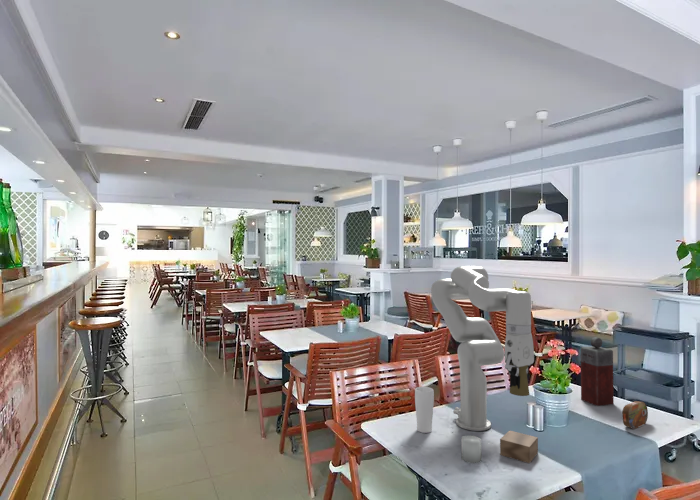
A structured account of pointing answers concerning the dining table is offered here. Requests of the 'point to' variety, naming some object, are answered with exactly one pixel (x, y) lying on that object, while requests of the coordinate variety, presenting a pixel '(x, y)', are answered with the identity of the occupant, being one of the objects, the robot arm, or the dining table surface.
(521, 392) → the cork
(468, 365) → the robot arm
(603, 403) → the dark red canister
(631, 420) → the tin
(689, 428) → the dining table surface
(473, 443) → the grey rounded block
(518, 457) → the block
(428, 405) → the drinking glass
